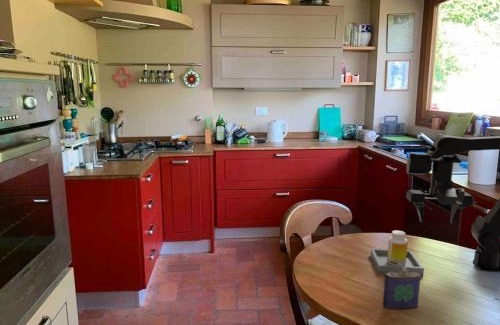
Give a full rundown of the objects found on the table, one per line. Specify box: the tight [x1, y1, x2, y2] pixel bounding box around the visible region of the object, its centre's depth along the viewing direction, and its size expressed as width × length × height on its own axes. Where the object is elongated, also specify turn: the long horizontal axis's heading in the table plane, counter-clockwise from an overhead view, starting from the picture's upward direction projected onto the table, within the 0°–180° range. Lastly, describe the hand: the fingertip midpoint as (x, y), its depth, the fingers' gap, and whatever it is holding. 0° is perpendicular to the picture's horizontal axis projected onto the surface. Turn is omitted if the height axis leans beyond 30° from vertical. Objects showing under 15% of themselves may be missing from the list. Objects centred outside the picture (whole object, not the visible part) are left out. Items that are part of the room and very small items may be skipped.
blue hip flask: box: [382, 267, 422, 311], centre depth 98 cm, size 9×3×11 cm, turn 95°
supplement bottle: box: [387, 230, 409, 266], centre depth 121 cm, size 6×6×10 cm
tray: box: [370, 248, 425, 277], centre depth 122 cm, size 13×13×2 cm
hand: (436, 223), depth 124 cm, fingers open, 9 cm apart
